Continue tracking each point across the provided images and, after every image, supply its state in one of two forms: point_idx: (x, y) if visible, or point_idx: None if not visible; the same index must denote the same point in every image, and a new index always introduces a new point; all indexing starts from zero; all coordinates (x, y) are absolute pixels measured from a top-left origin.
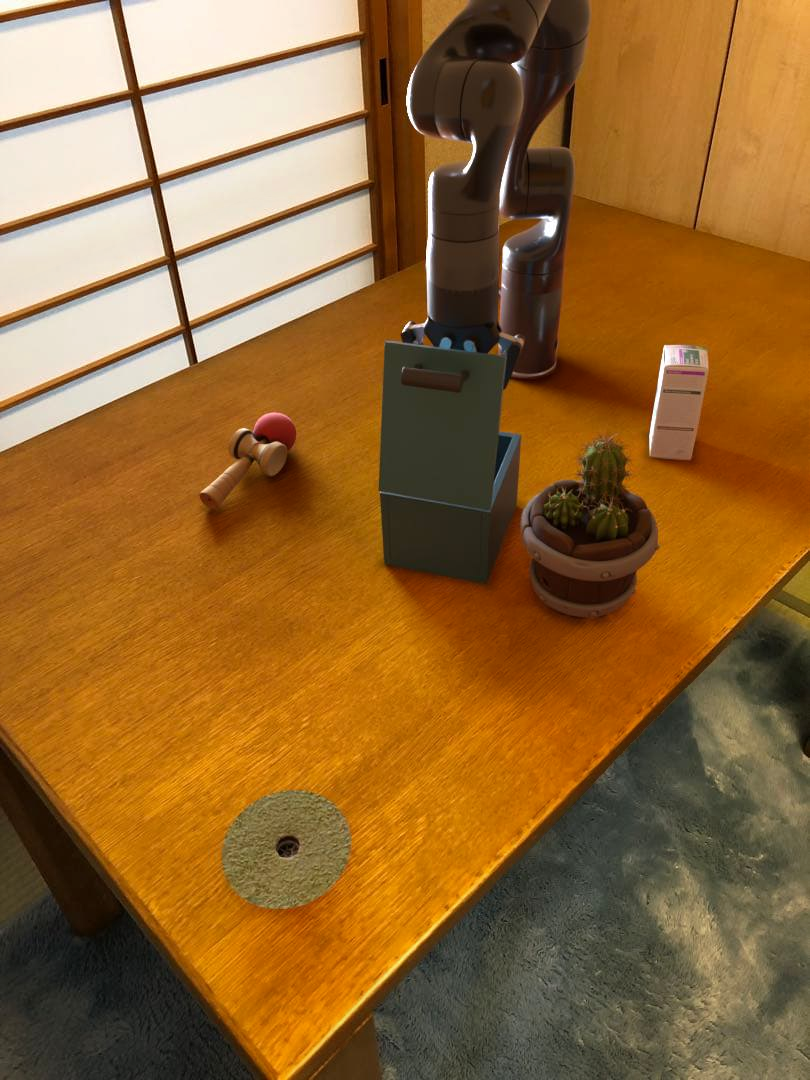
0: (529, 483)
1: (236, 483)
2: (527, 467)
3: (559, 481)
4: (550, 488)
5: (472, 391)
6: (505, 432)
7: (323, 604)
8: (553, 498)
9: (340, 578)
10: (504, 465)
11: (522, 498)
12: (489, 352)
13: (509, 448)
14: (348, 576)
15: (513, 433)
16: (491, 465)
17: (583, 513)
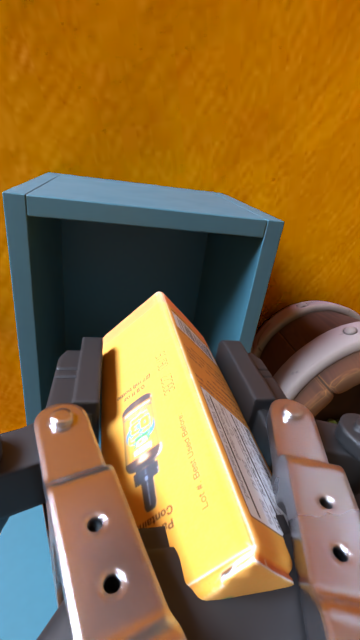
0: (243, 121)
1: None
2: (239, 58)
3: (342, 382)
4: (324, 402)
5: None
6: (246, 219)
7: (12, 430)
8: None
9: (11, 393)
10: (245, 340)
11: (231, 172)
12: (355, 506)
13: (255, 283)
14: (19, 388)
15: (266, 220)
16: None
17: (357, 411)
